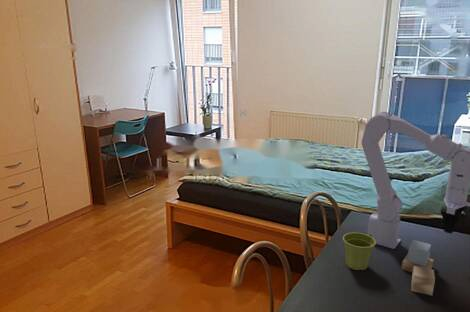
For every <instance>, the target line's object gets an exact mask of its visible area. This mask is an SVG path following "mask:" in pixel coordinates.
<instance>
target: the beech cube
mask: <svg viewBox="0 0 470 312" xmlns="http://www.w3.org/2000/svg"><path fill="white" fill-rule="evenodd" d="M435 282H436V277H435V270H434V269H427V268H422V267H417V266H414V267H413V273H412V274H411V291H412V292H415V293H420V294H424V295H428V296H433V293H434V289H435V288H434V287H435Z"/></svg>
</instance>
